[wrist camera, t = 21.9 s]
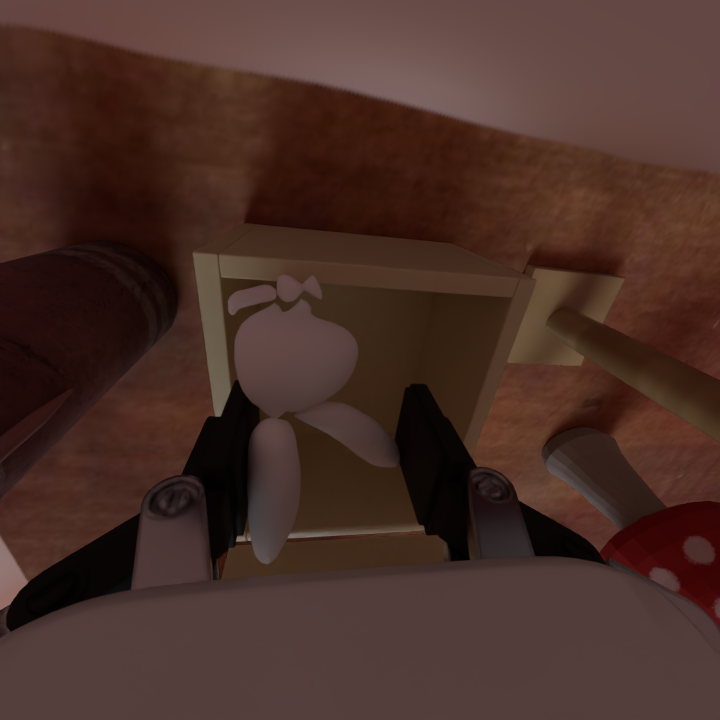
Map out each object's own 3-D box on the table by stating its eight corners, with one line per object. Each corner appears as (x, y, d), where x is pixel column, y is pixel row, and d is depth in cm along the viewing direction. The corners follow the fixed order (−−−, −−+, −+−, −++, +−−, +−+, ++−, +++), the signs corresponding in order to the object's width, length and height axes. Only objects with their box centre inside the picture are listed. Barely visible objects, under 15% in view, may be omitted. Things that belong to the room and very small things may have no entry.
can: (198, 333, 21) (34, 545, 9) (94, 344, 20) (-237, 587, 8) (164, 234, 18) (-161, 343, 6) (41, 244, 17) (-614, 388, 5)
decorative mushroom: (515, 483, 33) (649, 682, 20) (531, 418, 28) (715, 617, 15) (605, 468, 33) (791, 650, 20) (634, 403, 29) (892, 580, 16)
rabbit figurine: (381, 255, 11) (434, 479, 11) (322, 287, 14) (366, 461, 14) (186, 264, 7) (279, 594, 8) (166, 304, 10) (233, 537, 11)
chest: (243, 222, 18) (191, 251, 10) (452, 243, 20) (538, 279, 12) (256, 434, 25) (231, 542, 18) (408, 433, 27) (445, 529, 20)
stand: (493, 356, 25) (727, 579, 11) (526, 264, 21) (925, 414, 7) (571, 360, 26) (873, 565, 12) (614, 274, 23) (1099, 418, 9)
